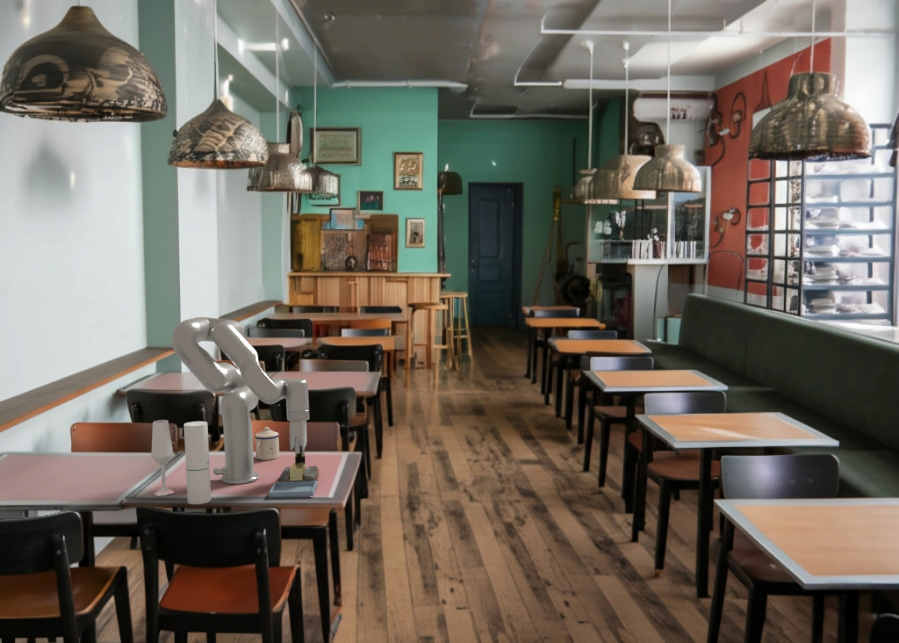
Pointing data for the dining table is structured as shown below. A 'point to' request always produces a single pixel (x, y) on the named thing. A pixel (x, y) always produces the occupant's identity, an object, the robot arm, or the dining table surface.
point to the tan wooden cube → (296, 473)
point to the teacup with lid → (267, 444)
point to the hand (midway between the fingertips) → (300, 467)
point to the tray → (293, 489)
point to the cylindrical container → (197, 462)
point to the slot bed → (310, 475)
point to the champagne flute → (161, 447)
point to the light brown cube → (301, 465)
